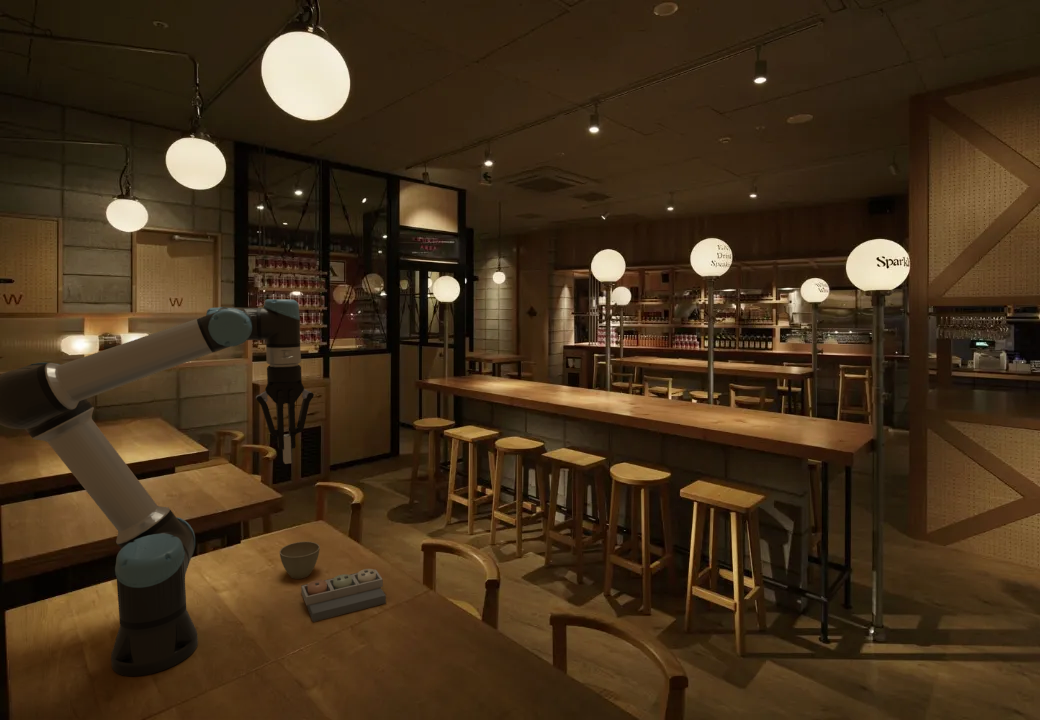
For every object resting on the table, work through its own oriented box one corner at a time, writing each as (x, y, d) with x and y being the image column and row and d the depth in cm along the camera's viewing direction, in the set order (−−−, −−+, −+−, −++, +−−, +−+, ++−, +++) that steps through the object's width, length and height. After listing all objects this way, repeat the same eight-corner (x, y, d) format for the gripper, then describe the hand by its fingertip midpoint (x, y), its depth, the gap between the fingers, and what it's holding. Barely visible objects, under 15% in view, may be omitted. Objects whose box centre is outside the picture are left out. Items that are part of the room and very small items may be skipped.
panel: (310, 622, 132) (309, 606, 131) (299, 593, 145) (298, 578, 144) (388, 602, 141) (388, 586, 140) (371, 576, 154) (370, 562, 153)
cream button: (360, 588, 142) (360, 577, 142) (356, 580, 146) (355, 570, 146) (378, 584, 145) (378, 573, 144) (373, 576, 148) (373, 566, 148)
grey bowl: (307, 585, 149) (306, 558, 148) (272, 581, 151) (271, 555, 150) (327, 568, 159) (326, 542, 158) (294, 564, 161) (293, 539, 160)
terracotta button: (309, 600, 136) (309, 589, 136) (306, 592, 140) (305, 581, 140) (328, 596, 139) (328, 585, 138) (325, 588, 142) (324, 577, 142)
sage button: (335, 594, 139) (335, 583, 139) (331, 586, 143) (331, 576, 143) (354, 589, 142) (353, 579, 141) (349, 582, 145) (349, 572, 145)
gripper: (255, 367, 130) (259, 469, 132) (315, 365, 136) (318, 462, 139) (252, 364, 136) (256, 461, 139) (310, 361, 143) (312, 455, 145)
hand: (287, 462), depth 139 cm, fingers closed
